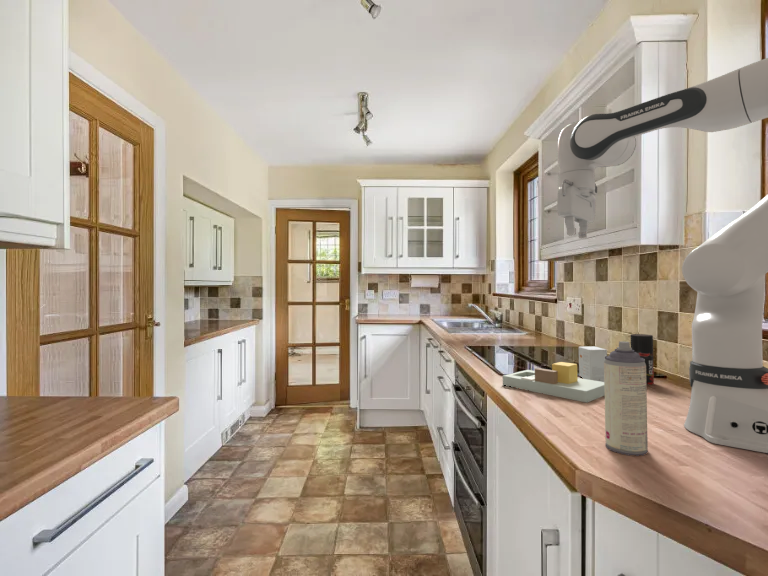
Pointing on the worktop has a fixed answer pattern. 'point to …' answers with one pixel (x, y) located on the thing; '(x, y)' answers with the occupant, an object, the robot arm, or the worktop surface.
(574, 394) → the board
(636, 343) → the deodorant
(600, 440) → the worktop surface
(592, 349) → the small box
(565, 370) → the block
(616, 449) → the aerosol can
